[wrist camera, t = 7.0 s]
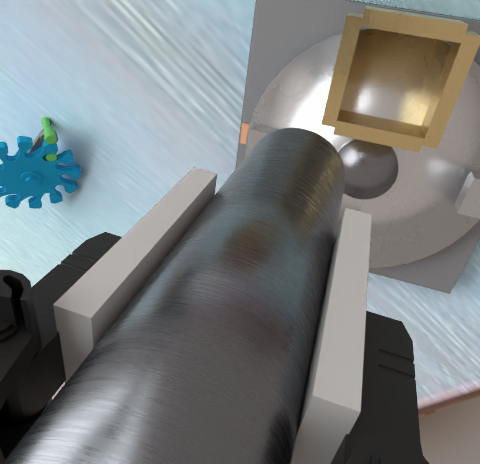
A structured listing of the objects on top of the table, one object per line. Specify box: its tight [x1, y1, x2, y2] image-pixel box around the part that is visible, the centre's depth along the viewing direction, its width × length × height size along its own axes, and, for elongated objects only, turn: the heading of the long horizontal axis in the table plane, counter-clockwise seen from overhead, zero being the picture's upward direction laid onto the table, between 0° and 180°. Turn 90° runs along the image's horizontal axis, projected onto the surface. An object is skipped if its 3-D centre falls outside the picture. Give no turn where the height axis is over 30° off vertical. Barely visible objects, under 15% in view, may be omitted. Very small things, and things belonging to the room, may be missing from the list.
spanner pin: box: [2, 128, 346, 464], centre depth 10 cm, size 4×4×16 cm
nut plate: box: [235, 0, 480, 294], centre depth 35 cm, size 22×22×2 cm
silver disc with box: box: [245, 6, 480, 268], centre depth 32 cm, size 21×20×4 cm
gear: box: [0, 117, 81, 208], centre depth 44 cm, size 11×6×10 cm
